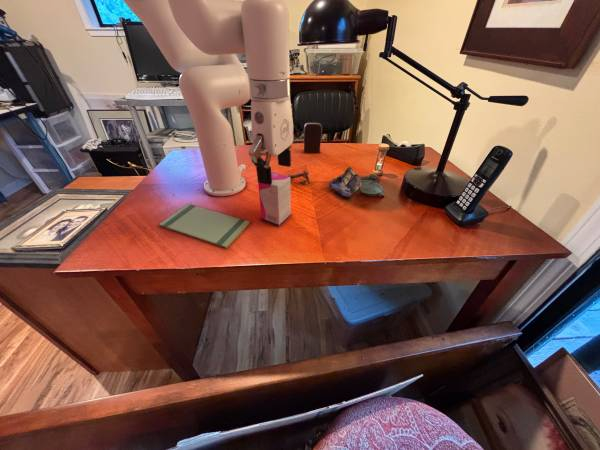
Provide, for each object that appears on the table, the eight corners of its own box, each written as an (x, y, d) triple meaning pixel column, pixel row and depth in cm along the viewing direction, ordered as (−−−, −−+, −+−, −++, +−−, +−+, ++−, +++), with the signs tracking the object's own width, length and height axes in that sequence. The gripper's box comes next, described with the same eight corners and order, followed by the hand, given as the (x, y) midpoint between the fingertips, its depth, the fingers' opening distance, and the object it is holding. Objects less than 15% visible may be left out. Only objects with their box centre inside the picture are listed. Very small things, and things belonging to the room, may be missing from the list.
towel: (188, 205, 67) (187, 203, 66) (250, 223, 61) (249, 221, 61) (159, 226, 60) (158, 223, 59) (226, 248, 54) (225, 246, 53)
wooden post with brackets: (311, 184, 75) (306, 171, 73) (290, 188, 80) (285, 176, 78) (313, 182, 77) (309, 168, 75) (293, 185, 81) (288, 173, 79)
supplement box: (291, 215, 64) (291, 176, 57) (279, 227, 60) (277, 187, 53) (273, 208, 66) (271, 170, 59) (260, 219, 62) (256, 180, 55)
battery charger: (319, 149, 100) (321, 121, 93) (320, 153, 97) (322, 124, 90) (303, 149, 100) (303, 121, 93) (303, 153, 97) (304, 124, 90)
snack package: (374, 196, 73) (356, 177, 81) (376, 178, 68) (357, 160, 77) (338, 207, 71) (323, 187, 79) (337, 190, 67) (322, 170, 75)
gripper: (265, 100, 37) (272, 195, 48) (305, 84, 50) (304, 162, 60) (224, 96, 39) (240, 188, 50) (273, 82, 52) (277, 157, 62)
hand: (275, 173), depth 55 cm, fingers open, 9 cm apart
